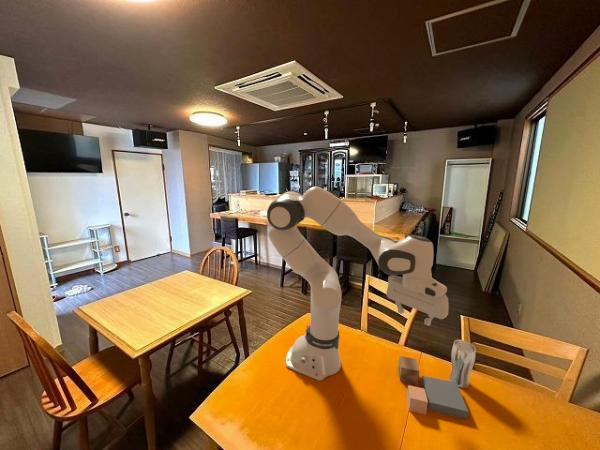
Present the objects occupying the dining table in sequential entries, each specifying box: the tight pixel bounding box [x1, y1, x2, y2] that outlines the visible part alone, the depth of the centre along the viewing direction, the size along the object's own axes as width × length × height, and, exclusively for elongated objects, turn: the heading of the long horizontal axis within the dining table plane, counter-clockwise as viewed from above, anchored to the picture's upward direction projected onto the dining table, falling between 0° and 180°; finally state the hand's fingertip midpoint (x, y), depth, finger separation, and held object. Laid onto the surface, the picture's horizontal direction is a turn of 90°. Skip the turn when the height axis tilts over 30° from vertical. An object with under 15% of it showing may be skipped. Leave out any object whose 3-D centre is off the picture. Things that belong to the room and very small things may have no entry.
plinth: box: [421, 375, 469, 420], centre depth 81 cm, size 11×11×3 cm
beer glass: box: [449, 339, 477, 389], centre depth 87 cm, size 7×7×15 cm
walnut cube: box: [397, 355, 420, 386], centre depth 90 cm, size 6×6×6 cm
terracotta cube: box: [406, 384, 428, 416], centre depth 78 cm, size 5×5×5 cm
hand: (413, 318), depth 85 cm, fingers open, 8 cm apart
